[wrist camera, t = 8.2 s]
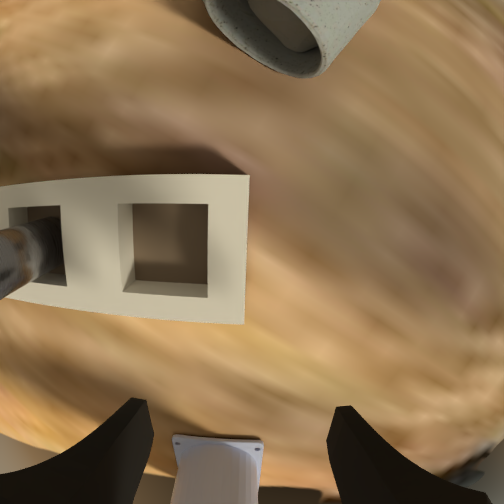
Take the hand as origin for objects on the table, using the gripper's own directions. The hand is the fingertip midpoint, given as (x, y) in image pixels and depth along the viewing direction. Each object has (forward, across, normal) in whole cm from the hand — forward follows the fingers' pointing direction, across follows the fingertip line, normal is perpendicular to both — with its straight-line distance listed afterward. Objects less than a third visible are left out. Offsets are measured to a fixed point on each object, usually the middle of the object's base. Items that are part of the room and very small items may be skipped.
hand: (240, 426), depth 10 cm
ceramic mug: (+10, -1, -20) cm, 23 cm away
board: (+10, +9, -5) cm, 14 cm away
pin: (+9, +14, -5) cm, 17 cm away
